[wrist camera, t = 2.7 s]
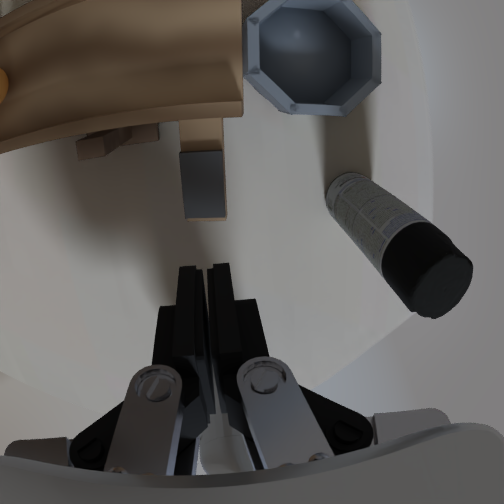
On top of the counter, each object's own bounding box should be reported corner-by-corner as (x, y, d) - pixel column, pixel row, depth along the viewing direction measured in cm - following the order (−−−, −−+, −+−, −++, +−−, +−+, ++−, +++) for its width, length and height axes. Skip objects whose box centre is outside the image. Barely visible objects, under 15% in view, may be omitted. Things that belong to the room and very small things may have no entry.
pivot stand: (159, 139, 31) (140, 160, 22) (91, 149, 30) (51, 174, 21) (154, -13, 23) (135, -50, 13) (84, 2, 22) (43, -23, 13)
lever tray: (246, 201, 28) (244, 234, 22) (29, 213, 28) (-6, 241, 22) (242, -21, 18) (238, -52, 12) (8, 39, 18) (-34, 40, 12)
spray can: (355, 228, 40) (442, 328, 23) (313, 209, 38) (395, 314, 21) (380, 185, 37) (487, 265, 20) (339, 161, 35) (448, 236, 18)
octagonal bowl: (354, 114, 33) (380, 120, 27) (241, 111, 31) (248, 115, 26) (354, 10, 26) (379, 0, 21) (238, -1, 25) (245, -18, 20)
